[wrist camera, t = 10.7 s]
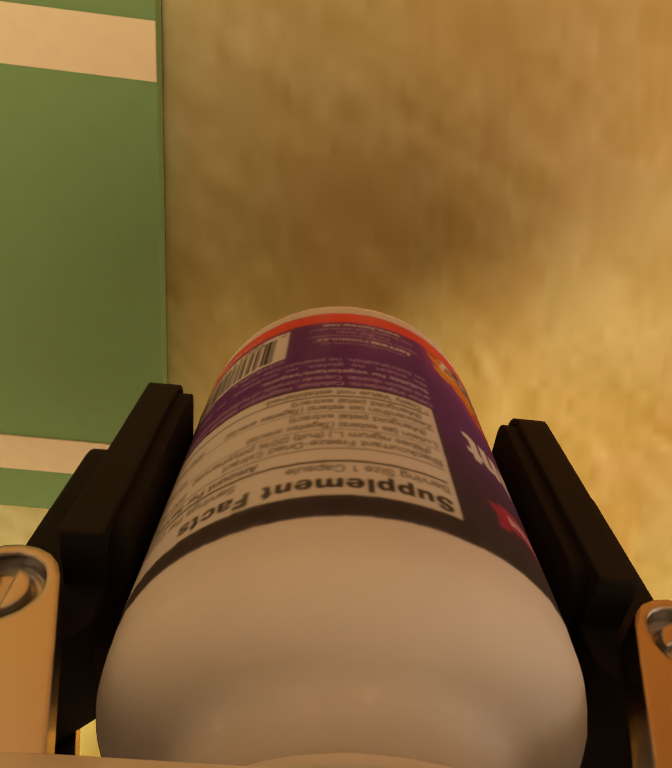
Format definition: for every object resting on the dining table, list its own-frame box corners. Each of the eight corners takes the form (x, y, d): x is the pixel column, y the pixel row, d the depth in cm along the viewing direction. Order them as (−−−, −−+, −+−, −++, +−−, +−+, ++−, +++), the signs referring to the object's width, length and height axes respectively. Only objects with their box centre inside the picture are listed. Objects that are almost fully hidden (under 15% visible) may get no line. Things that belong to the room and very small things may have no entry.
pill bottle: (461, 514, 14) (666, 1232, 5) (230, 524, 14) (60, 1239, 5) (473, 290, 12) (893, 941, 3) (193, 304, 12) (-228, 967, 3)
